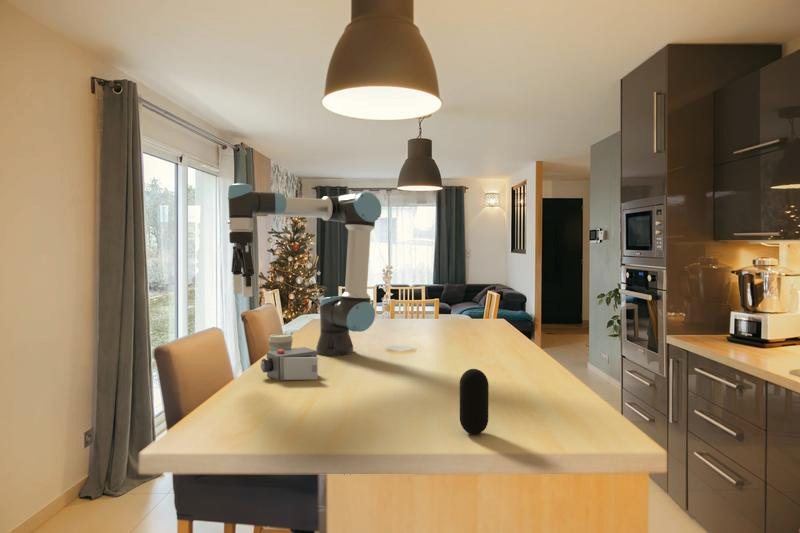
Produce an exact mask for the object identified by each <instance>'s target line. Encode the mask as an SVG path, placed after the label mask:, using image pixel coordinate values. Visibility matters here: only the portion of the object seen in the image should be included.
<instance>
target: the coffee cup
mask: <svg viewBox="0 0 800 533" xmlns="http://www.w3.org/2000/svg"><path fill="white" fill-rule="evenodd" d="M267 341H268V344H269V352H270V351H277V350H279V349H284V350H286V349H292V345H293V336H292V334H291V333H274V334H270V335H269V338H268V340H267Z"/></svg>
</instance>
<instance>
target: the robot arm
mask: <svg viewBox="0 0 800 533" xmlns="http://www.w3.org/2000/svg"><path fill="white" fill-rule="evenodd" d="M227 196H228V197H227V199H228V200H227V202H228V220H227V224H228V230H229V231H230V232H229V236H228V237H229V238H228V239H229V244H235V245H233V246H232V261H231V271H230V272H231V273H232V280H233V284H232V285H233V286H232V287H233V294H234V295H237V294H242V295H243V298H251V297H253V276H254V275H255V269H254V264H253V256H252V249H251V248H252V246H251V245H248V244H253V243H254V232H253V230H254V221H253V220H254V219H253V218H254V217H282V218H313V219H314V218H315V219H316V218H319V219H322V220H323V221H324V222H325V221H327V222H329V221H330V222H331V221H332V222H337V223H344V227H345V228H346V229H347V230H348V235H347V250H346V251H347V252H346V266H345V268H346V269H345V284H344V287H345V288H344V292H343V293H342V294H340V295H339V296H337V295H336V296H329V297H328V296H327V297H322V298H321V299H320V303H319V316H320V318H319V320H320V323H319V324H320V326H319V327H320V329H319V330H320V334H319V338H318V341H317V345H316V348H315V351H317V355H321V356H332V357H333V356H345V355H351V354H352V353H354V345H353V344H354V343H353V341H352V338H351V335H350V332H353V333H356V332H358V333H359V332H360V333H361V332H365V331H367V330H369V328H371V326H372V325H373V324H374V322H375V318H376V310H375V308H374V307H373V305H372V304H371V296H370V295H369V294H368V279H369V278H368V277H369V262H370V260H369V259H370V247H371V246H370V244H371V242H370V241H371V232H372V231H373V230H374V229H376V228H375V227H376V226H375V224H376V222H377V220H378V219H379V218H380V217H381V215H382V204H381V202H380V199H379V198H378V197H377V195H376V194H374V193H372V192H370V191H358V192H354V193H347V194H341V195H336V196H335V195H334V196H323V197H322V198H311V197H291V196H285V195H284V193H280V192H276V191H274V192H273V191H271V192H270V191H269V192H268V191H254V190H253V187H252V185H251V184H247V183H232V184H230V185H229V186H228V195H227Z"/></svg>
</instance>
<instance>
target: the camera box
mask: <svg viewBox="0 0 800 533" xmlns="http://www.w3.org/2000/svg"><path fill="white" fill-rule="evenodd" d="M280 357H284V358H293V357H318V354H317V351H316V349H313V348H312V349H311V348H308V347H305V346H302V347H301V346H300V347H296V348H295V347H294V348H291V349H286V350H284V349H279V350H277V351H270V350H269V351H267V352H266V358H262V359H261V362H260V369H261V371H262V372H263V373H265V374H266V376H267V377H268V378H271V379H273V380H276V381H278V382H280Z"/></svg>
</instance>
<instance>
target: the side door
mask: <svg viewBox="0 0 800 533" xmlns="http://www.w3.org/2000/svg"><path fill="white" fill-rule="evenodd" d="M318 358H319V357H318V356H317V357H293V358H284V357H280V381H281V382H282V381H288V380H318V379H319V378H318V376H319V375H318V372H319V371H318V366H319V364H318ZM280 381H279V382H280Z"/></svg>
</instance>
